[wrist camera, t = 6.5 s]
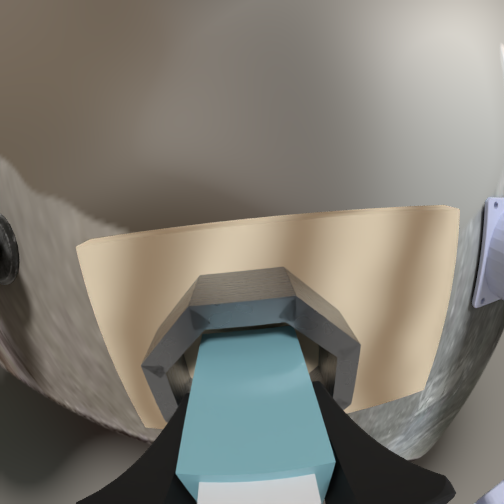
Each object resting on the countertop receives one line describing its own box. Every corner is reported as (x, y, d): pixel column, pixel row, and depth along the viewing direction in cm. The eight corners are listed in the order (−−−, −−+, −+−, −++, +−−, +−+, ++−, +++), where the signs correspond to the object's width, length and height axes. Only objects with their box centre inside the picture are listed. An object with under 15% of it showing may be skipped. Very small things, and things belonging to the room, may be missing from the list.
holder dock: (443, 204, 13) (497, 220, 9) (415, 377, 17) (441, 415, 13) (89, 239, 13) (40, 266, 9) (150, 412, 17) (136, 459, 12)
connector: (293, 325, 12) (344, 492, 4) (294, 388, 13) (325, 527, 5) (202, 334, 12) (170, 503, 4) (217, 395, 13) (208, 536, 5)
